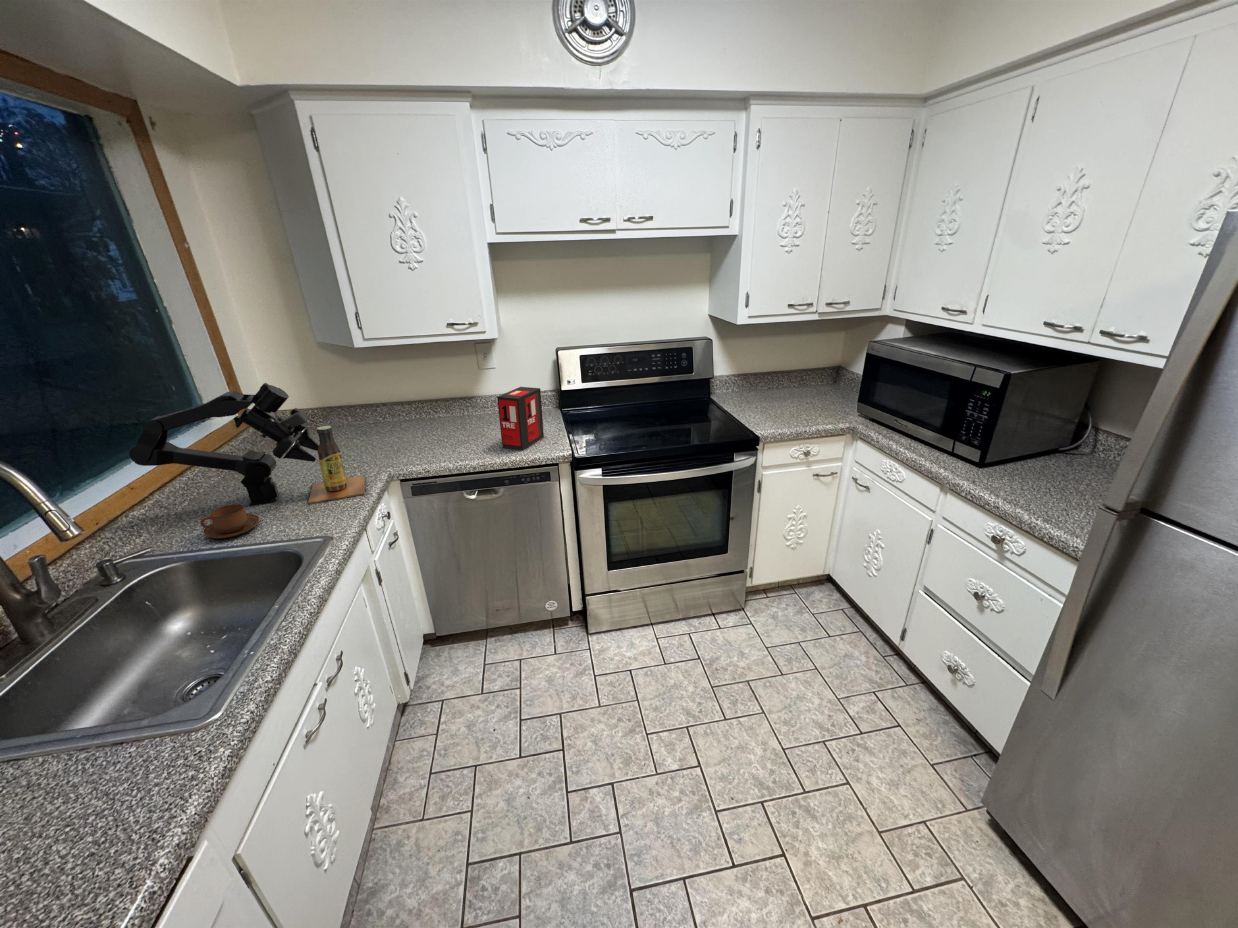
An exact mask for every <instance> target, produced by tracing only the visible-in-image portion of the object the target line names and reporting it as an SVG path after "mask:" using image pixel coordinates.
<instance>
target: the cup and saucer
mask: <svg viewBox="0 0 1238 928" xmlns="http://www.w3.org/2000/svg"><path fill="white" fill-rule="evenodd" d="M207 520H209V521H210V520H211V522H212V523H210V524H208V525H207V524H205V523H204V522H205V521H207ZM259 522H260V517H259V516H258V515H256V514H253V513H247V512H246V509H245V505H244V504H239V503H232V504H227V505H223V506H220V507H217V508H215V509H213V510H212V511H210V513H209V516H205V517H203V518H201V519H200V522H199V524H200V525H201V527H203V528H204V529H203V534H204V536H206V537H208V538H211V539H227V538H232V537H236V536H240V535H242V534H245V533H246V532H249V531H250V530H252V529H253V528H255V527H256V526H257V525H258V523H259Z"/></svg>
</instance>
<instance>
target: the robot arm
mask: <svg viewBox="0 0 1238 928" xmlns="http://www.w3.org/2000/svg"><path fill="white" fill-rule="evenodd" d="M289 397H290V396H289V394H288V393H287V392H286V391H285V390H284V389H282V388H280V387H277V386H276V385H273V384H269V383H267V382H264V383H262V385H261V386H260V387H259V390H258V391H257V392H256V393H255V394H247V393H246V394H245V393H241V392H239V391H237V390H229V391H226V392H224V393H223V394H220V395H219V396H217V397H215V398H213V399H211V400H208V401H207V402H205V403H202V404H199V405H194V406H191V407H188V408H184V409H181V410H177V411H174V412H171V413H168V414H164V415H157V416H155V417H153V418H151V419H149V420H148V421H147V422H146V424H145V426H144V429H143V431H142V432H141V434H140V437H139V438H138V440H137V442H136V444H135V446H133V447H132V448H131V449H130V450H129V453H128V455H129V458H130V459H131V461H132V462H133V463H134V464H135V465H138V466H143V467H147V466H148V467H150V466H151V467H152V466H153V467H154V466H155V467H157V466H165V465H173V464H175V465H184V466H192V467H200V468H205V469H206V468H207V469H215V470H223V471H231V472H235V473H238V474H240V475H241V476H244V477H243V478H242V479H241V480H240V483H241V484H242V485H243V487H244V488H245V489H246V493H247V495H248V499H249V503H248V505H249V506H256V505H261V504H267V503H273V502H276V500H277V498H278V497H279V494H280V493H279V489H278V486H277V483H276V481H274V480H273V477H272V473H273V472H274V470H275V469H276V468H277V461H276V458H277V459H279V460H280V459H284V460H285V459H289V460H290V459H291V460H298V461H305V462H310V463H311V462H312V463H315V462H316V460H317V458H316V457H315V456H314V455H313V454H311V453H310V452H309V451H307V450H306V449H309V450H313V451H317V450H318V446H319V444H318V442H317V441H316V440H315V439H314V438H313V437H312V436H311V435H310V431H309V427H308V423H307V420H308V421H309V417H308V416H307V415H306V411H305V410H302V409H299V408H297V407H295V408H293V409H291V410H289V414H290V415H288V416H287V417H285V418H283V417H282V416H277V417H275V416H274V415H272V414H270V413H277V412H278V411H279V409H280V408H282V406H283V405H284V403H285V402H286V401H287V400H288V399H289ZM253 404H254V405H253ZM252 405H253V406H252ZM250 406H252V407H251V408H249V407H250ZM242 410H244V411H243V412H242V413H241V414H240V415H238V414H239V413H240V412H241V411H242ZM235 415H236V416H235ZM232 416H234V417H233V420H234V423H235V428H237V429H238V428H240V427H241V426H243V424H245V425H247V426H249V427H250V428H252V429H253V430H255V431H257V432H259V433H260V434H262V435H261V437H262V438H264V439H265V438H266V437H267V438H268V439H271V440H272V441H274V442H276V443H275V445H276V446H275V447H274V448H273V449H272V454H273V455H271V454H269V453H266V451H256V450H252V449H248V451H247V452H246V453H245V454H241V455H240V454H239V455H238V454H230V453H223V452H215V451H207V450H201V449H193V448H185V447H179V446H178V445H175V444H174V443H171V442H169V441H168V439H169V438H168V437H169V431H170V430H173V429H176V428H179V427H183V426H186V425H190V424H194V423H197V422H199V421H204V420H206V419H212V418H224V417H232ZM304 448H306V449H304ZM317 452H318V451H317ZM273 456H274V457H276V458H274V457H273Z"/></svg>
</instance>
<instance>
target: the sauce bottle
mask: <svg viewBox="0 0 1238 928" xmlns="http://www.w3.org/2000/svg"><path fill="white" fill-rule="evenodd" d="M316 433H317V434H318V442H319V444H318V445H319V446H318V450H317V456H318V463H319V468H320V472H321V476H322V482H323V483H324V486H325V489H326V490H327V491H330V492H332V491H339V490H342V489H344V488H346V486H347V484H346V482H347V481H346V478H347V476H346V472H345V471H346V470H345V467H344V461H343V455H342V452H341V449H340V447H339V445H338V444H337V442H336V441H335V438H334V435H333V427H332V426H331V425H322V426H319V427H316Z"/></svg>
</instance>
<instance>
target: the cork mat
mask: <svg viewBox="0 0 1238 928" xmlns="http://www.w3.org/2000/svg"><path fill="white" fill-rule="evenodd" d="M365 476H366V475H359V476H353V477H346V481H347V482H346V484H347V486H346V488H344V489H342V490H339V491H332V492H330V491H327V490H326V489H325V486H324V483H323V481H322V482H321V481H320V482H315V483H312V486H311V490H310V493H309V499H308V502H307V504H308V505H312V504H318V503H325V502H330V501H336V500H342V499H347V498H353V497H360V496H365V489H366V488H365V486H366V485H365V484H366V477H365Z"/></svg>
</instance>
